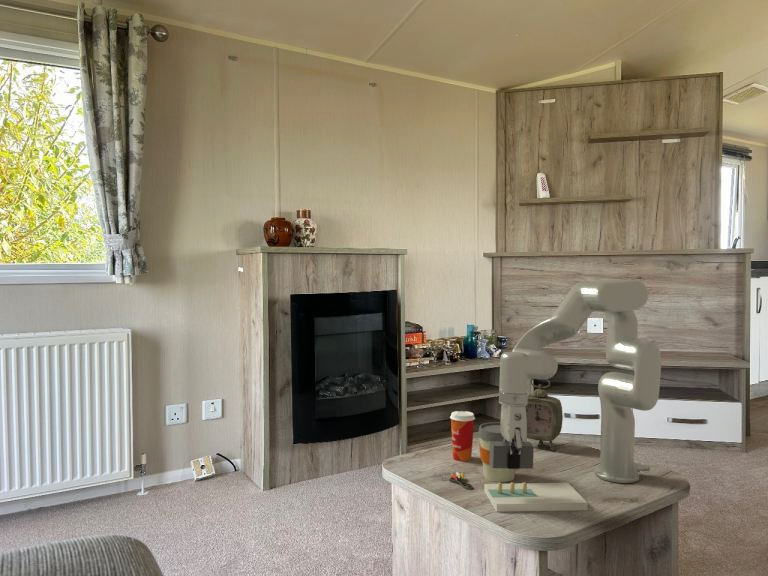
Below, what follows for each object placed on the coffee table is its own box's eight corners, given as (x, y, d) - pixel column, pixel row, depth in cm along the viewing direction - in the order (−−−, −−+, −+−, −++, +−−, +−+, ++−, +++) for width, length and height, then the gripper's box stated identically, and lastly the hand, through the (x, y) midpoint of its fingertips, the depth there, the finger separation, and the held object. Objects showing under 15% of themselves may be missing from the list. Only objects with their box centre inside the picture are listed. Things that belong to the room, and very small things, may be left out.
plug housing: (528, 463, 160) (528, 441, 160) (532, 468, 156) (533, 446, 155) (489, 463, 159) (489, 441, 159) (493, 468, 155) (493, 445, 155)
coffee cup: (448, 454, 197) (449, 410, 196) (473, 454, 197) (473, 410, 196) (450, 462, 189) (451, 416, 188) (476, 463, 188) (476, 417, 188)
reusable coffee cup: (506, 467, 184) (507, 420, 183) (528, 481, 172) (529, 431, 172) (470, 471, 180) (471, 423, 179) (490, 486, 168) (491, 435, 168)
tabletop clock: (515, 446, 206) (516, 376, 205) (523, 440, 214) (524, 372, 213) (556, 453, 199) (558, 380, 198) (563, 446, 206) (564, 376, 206)
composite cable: (474, 490, 166) (474, 481, 166) (458, 492, 165) (458, 483, 165) (461, 478, 176) (461, 470, 175) (446, 479, 174) (446, 471, 174)
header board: (567, 489, 166) (567, 472, 166) (587, 510, 152) (587, 491, 152) (484, 490, 165) (484, 473, 165) (496, 511, 151) (496, 492, 151)
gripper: (536, 405, 149) (534, 476, 149) (518, 392, 166) (515, 455, 166) (507, 405, 148) (505, 476, 149) (491, 391, 165) (489, 455, 166)
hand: (511, 464), depth 157 cm, fingers closed on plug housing, 4 cm apart
